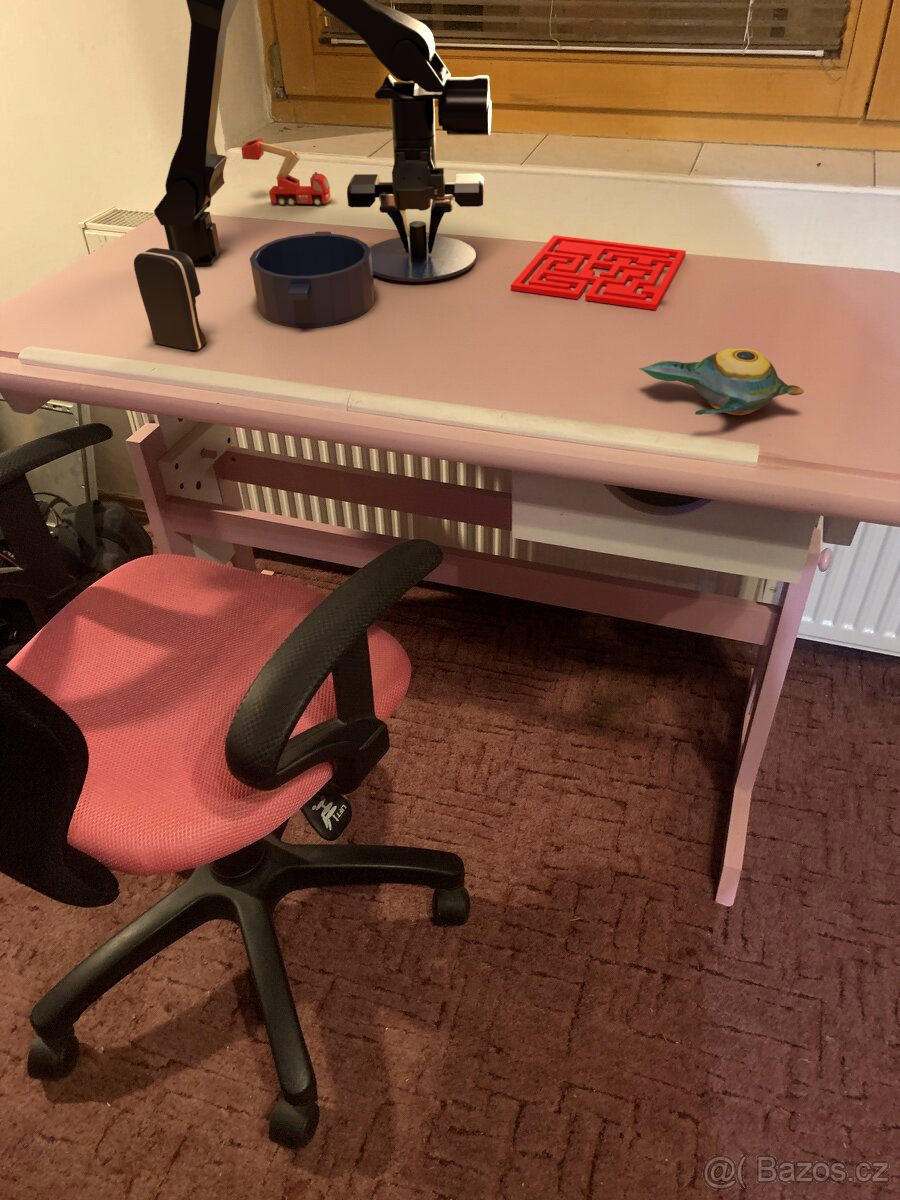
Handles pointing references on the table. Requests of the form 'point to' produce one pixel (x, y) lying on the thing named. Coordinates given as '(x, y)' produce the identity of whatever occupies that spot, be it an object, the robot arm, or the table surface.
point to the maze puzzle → (615, 288)
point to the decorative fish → (728, 380)
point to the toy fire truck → (289, 177)
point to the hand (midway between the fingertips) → (419, 252)
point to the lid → (421, 257)
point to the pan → (313, 279)
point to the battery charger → (170, 297)
